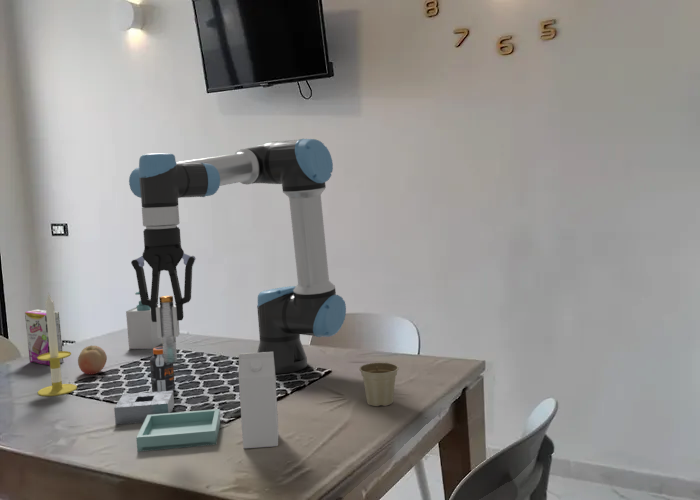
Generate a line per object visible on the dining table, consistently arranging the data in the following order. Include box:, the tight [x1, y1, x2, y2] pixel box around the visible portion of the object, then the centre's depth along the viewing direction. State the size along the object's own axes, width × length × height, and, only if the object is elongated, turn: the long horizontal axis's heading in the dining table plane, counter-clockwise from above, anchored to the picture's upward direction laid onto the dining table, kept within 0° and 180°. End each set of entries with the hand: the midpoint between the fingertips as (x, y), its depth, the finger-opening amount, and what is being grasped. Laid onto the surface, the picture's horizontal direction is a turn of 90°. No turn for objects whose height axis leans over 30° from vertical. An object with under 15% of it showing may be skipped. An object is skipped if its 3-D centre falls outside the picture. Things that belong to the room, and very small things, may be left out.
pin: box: [158, 295, 178, 363], centre depth 151 cm, size 3×3×14 cm
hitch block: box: [113, 390, 175, 426], centre depth 167 cm, size 12×10×4 cm
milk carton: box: [238, 352, 280, 449], centre depth 146 cm, size 7×7×19 cm
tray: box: [136, 408, 221, 452], centre depth 152 cm, size 16×14×3 cm
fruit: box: [77, 345, 108, 376], centre depth 206 cm, size 8×8×8 cm
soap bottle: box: [125, 291, 163, 350], centre depth 237 cm, size 9×9×19 cm
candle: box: [37, 292, 78, 397], centre depth 189 cm, size 10×10×27 cm
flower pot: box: [358, 362, 400, 407], centre depth 168 cm, size 9×9×9 cm
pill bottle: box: [149, 346, 176, 392], centre depth 187 cm, size 6×6×11 cm
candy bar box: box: [24, 309, 64, 367], centre depth 221 cm, size 11×5×16 cm, turn 58°
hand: (168, 335), depth 151 cm, fingers closed on pin, 3 cm apart
